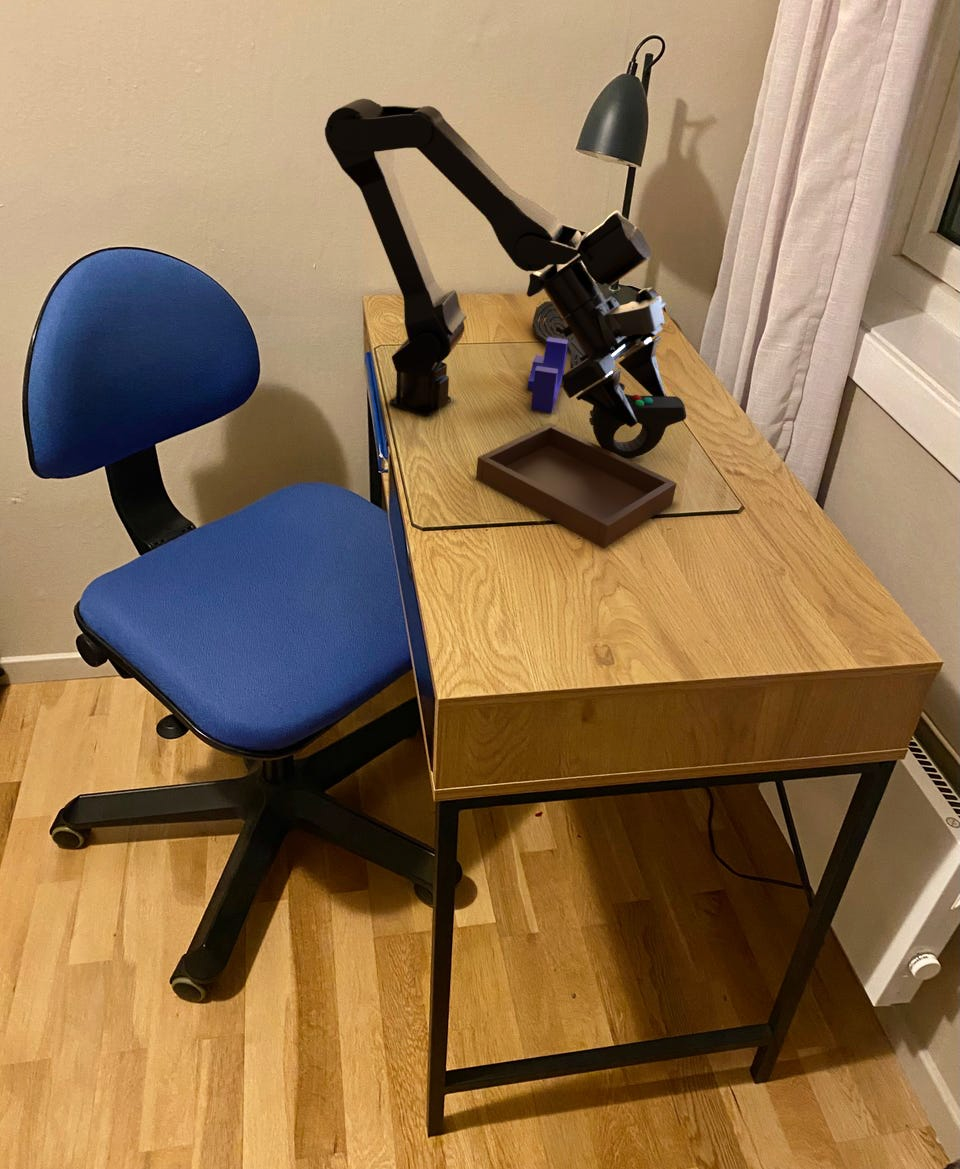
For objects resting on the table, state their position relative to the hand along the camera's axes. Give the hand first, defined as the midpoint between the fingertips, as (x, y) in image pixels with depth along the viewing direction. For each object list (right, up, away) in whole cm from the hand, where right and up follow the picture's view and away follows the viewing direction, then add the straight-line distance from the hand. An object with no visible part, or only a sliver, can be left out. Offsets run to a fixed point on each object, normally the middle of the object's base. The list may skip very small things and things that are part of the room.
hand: (648, 411), depth 122 cm
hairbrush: (-8, +15, +30) cm, 35 cm away
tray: (-10, -11, -4) cm, 15 cm away
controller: (-2, -5, +5) cm, 7 cm away
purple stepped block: (-12, +6, +18) cm, 22 cm away
